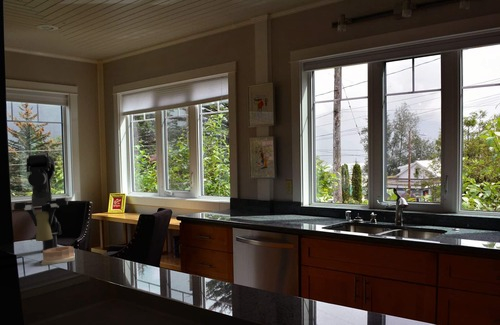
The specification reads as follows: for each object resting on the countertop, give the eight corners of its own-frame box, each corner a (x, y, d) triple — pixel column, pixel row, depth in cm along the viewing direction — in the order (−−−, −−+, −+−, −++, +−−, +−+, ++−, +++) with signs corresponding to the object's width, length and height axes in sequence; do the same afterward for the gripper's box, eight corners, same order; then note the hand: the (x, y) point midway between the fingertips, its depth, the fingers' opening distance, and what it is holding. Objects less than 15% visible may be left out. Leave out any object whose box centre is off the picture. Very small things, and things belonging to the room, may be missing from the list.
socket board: (44, 259, 167) (43, 248, 167) (75, 255, 171) (74, 244, 171) (42, 265, 157) (41, 254, 157) (74, 260, 161) (73, 249, 161)
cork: (48, 240, 165) (45, 212, 165) (32, 241, 166) (30, 213, 165) (55, 237, 171) (53, 210, 171) (41, 238, 172) (38, 211, 172)
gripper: (9, 189, 158) (13, 231, 158) (64, 184, 164) (67, 224, 164) (14, 188, 168) (18, 227, 168) (66, 183, 174) (69, 221, 174)
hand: (43, 225), depth 168 cm, fingers closed on cork, 5 cm apart
